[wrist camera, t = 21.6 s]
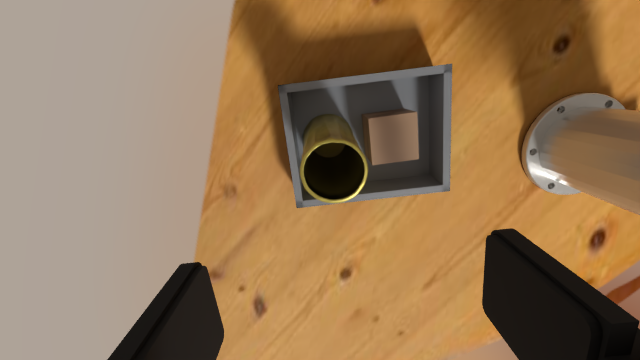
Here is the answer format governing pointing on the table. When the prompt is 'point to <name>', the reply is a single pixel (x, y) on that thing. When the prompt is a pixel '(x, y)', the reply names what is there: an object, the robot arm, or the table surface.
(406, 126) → the walnut cube
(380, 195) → the tote
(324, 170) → the vase
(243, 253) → the table surface
